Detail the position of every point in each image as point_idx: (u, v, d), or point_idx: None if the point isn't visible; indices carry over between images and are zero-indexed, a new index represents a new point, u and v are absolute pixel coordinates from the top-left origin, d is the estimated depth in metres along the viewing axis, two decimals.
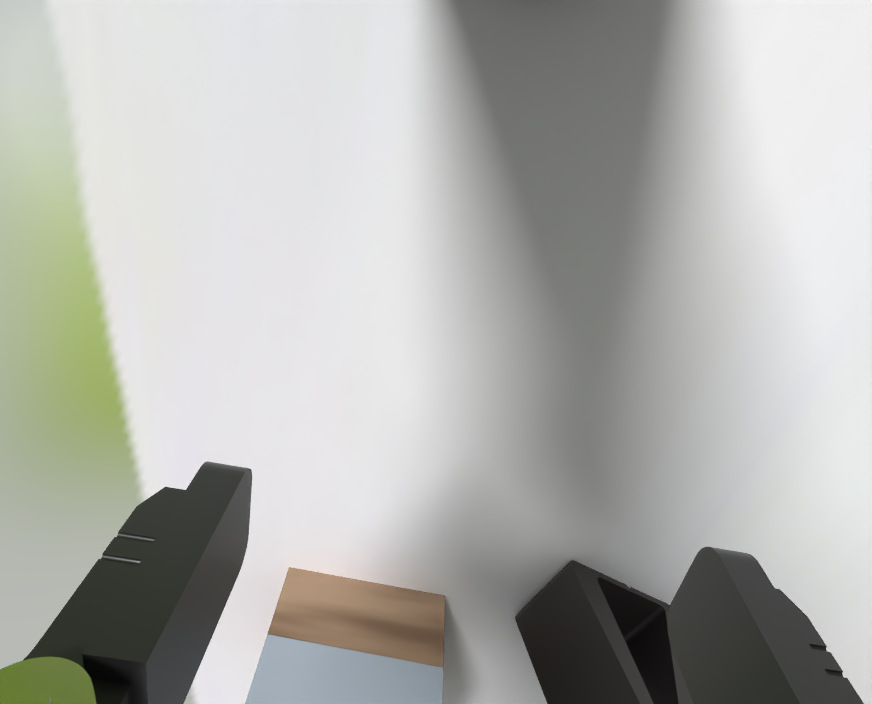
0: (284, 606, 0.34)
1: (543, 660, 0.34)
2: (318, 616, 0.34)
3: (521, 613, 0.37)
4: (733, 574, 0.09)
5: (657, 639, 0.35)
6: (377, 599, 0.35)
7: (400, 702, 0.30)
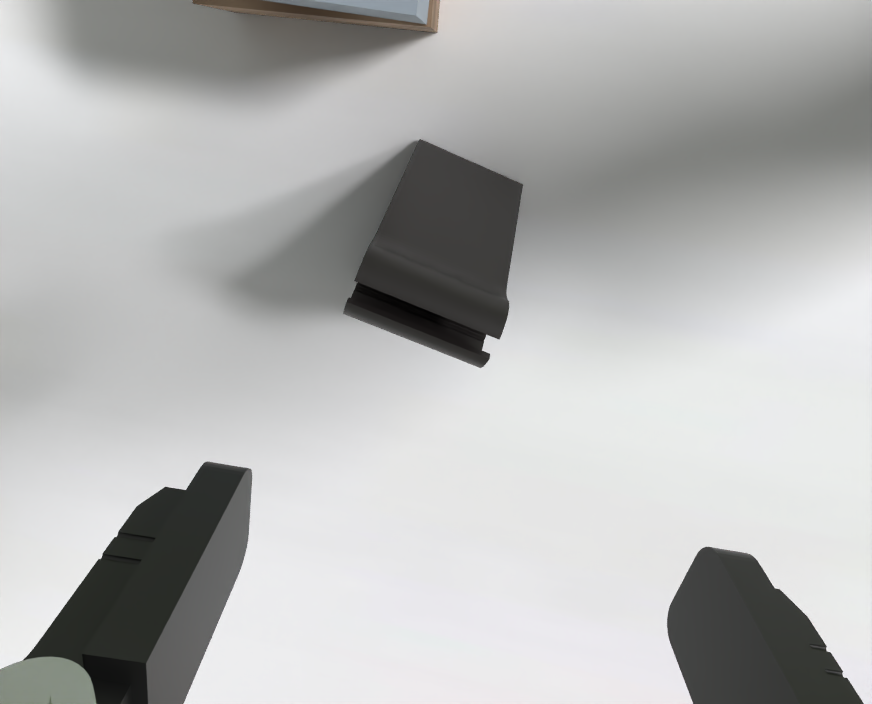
0: None
1: (425, 175, 0.28)
2: None
3: (431, 144, 0.30)
4: (733, 574, 0.09)
5: None
6: None
7: None
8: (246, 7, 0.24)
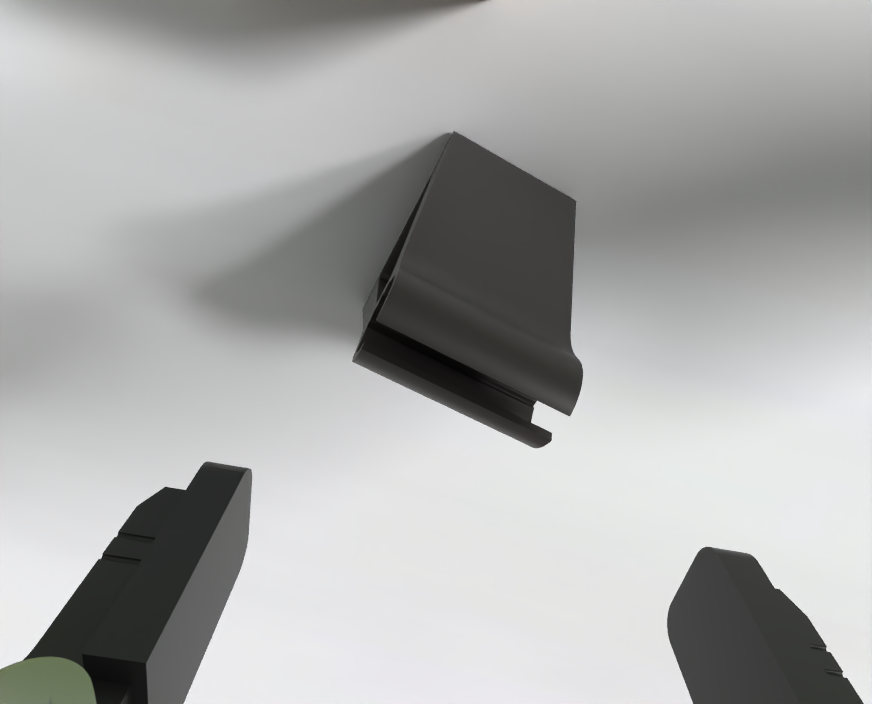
0: None
1: (462, 177, 0.22)
2: None
3: (468, 139, 0.24)
4: (733, 574, 0.09)
5: None
6: None
7: None
8: None
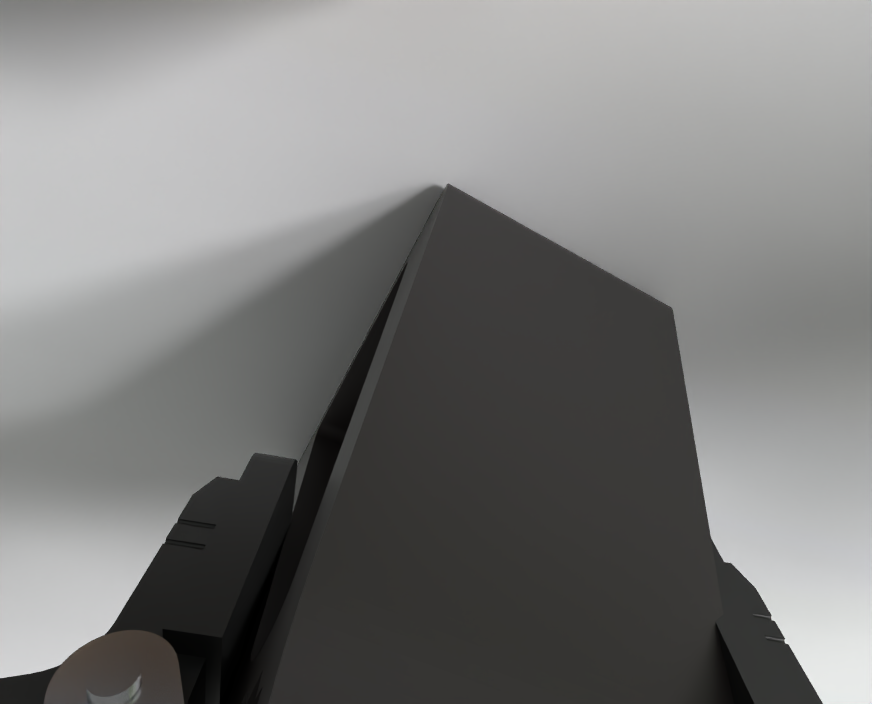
0: None
1: (465, 292, 0.10)
2: None
3: (475, 199, 0.12)
4: None
5: None
6: None
7: None
8: None
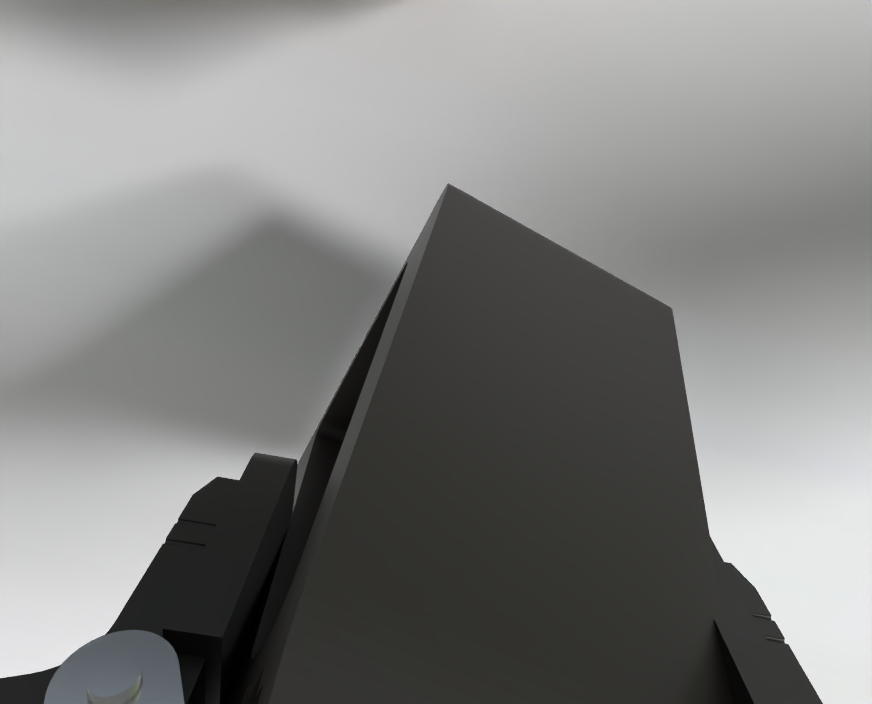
0: None
1: (465, 292, 0.10)
2: None
3: (475, 199, 0.12)
4: None
5: None
6: None
7: None
8: None
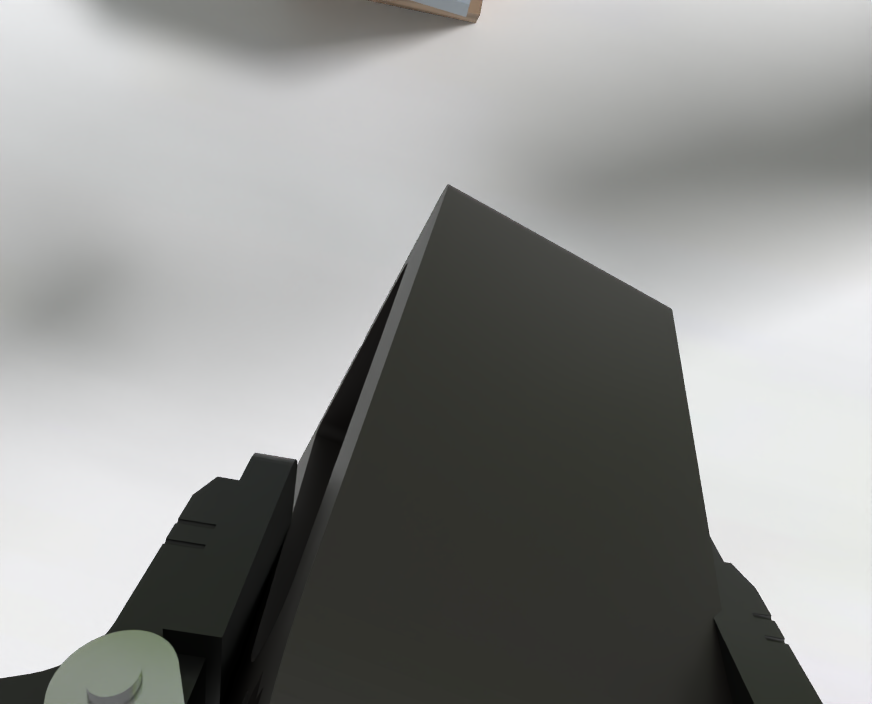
0: None
1: (465, 293, 0.10)
2: None
3: (475, 200, 0.12)
4: None
5: None
6: None
7: None
8: None
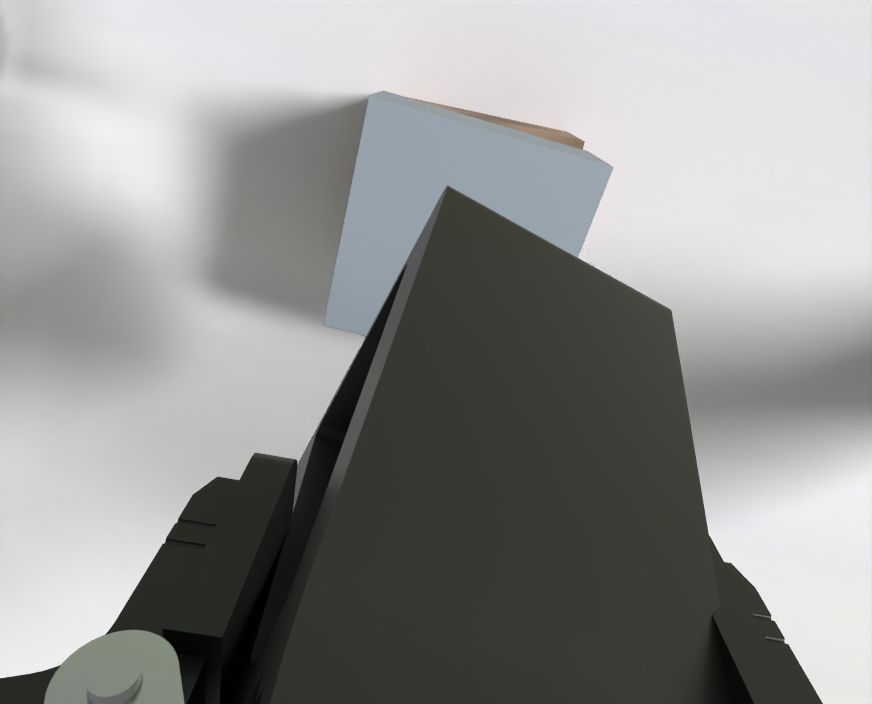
0: None
1: (465, 295, 0.10)
2: None
3: (474, 201, 0.12)
4: None
5: None
6: None
7: None
8: None
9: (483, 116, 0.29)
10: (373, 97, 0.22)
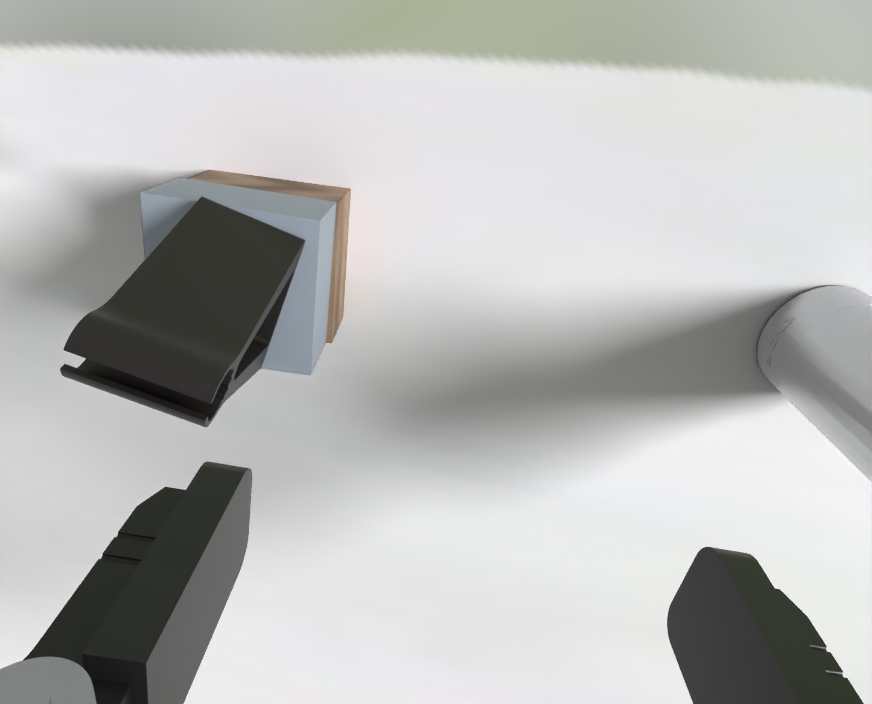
0: (343, 203, 0.39)
1: (192, 234, 0.29)
2: (341, 234, 0.39)
3: (213, 201, 0.32)
4: (733, 574, 0.09)
5: None
6: (343, 271, 0.43)
7: (321, 326, 0.38)
8: None
9: (274, 185, 0.39)
10: (143, 193, 0.32)
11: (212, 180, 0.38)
